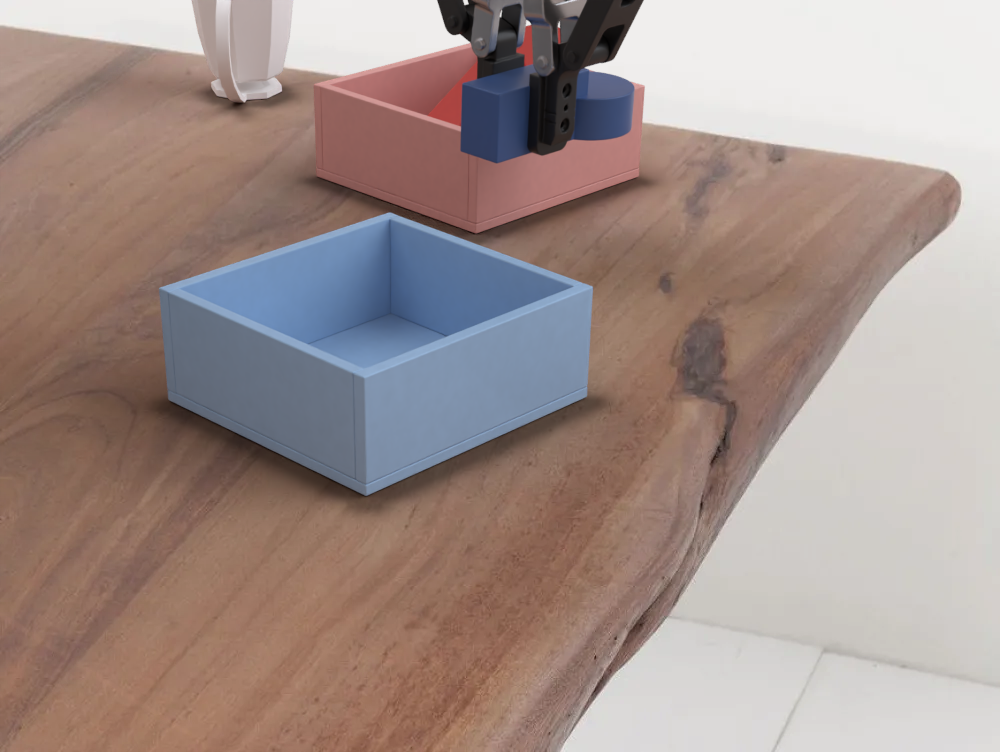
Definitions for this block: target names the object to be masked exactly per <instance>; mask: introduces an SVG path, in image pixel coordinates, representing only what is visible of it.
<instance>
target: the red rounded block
mask: <svg viewBox="0 0 1000 752" xmlns="http://www.w3.org/2000/svg"><path fill="white" fill-rule="evenodd" d="M559 43H560V26H558V44H559ZM516 52H517V53H521V54H524V55H525V60H524V66H528V65H531V64H533V52H532V27H531V24H528V25H526V28H525V35H524V42H523V44H522V46H521V47H520V48H518V49H517V50H516ZM476 79H477V62H476V63H475V64H474V65H473V66H472V67H471V68H470V69H469V70H468V71H467V73H466V74H465V75H464V76H463V77H462V78H461V79H460V80H459V81H458V82H457V84H456V85H455V86H454V87H453V88H452V89H451V90H450V91H449V92H448V93H447V94H446V96H445V97H444V98H443V99H442V100H441V101H440V102H439V103H438V104H437V105H436V107H435V108H434V109H433V110H432V111H431V112H430V113H429V114H428V115H427V116H429V117H432V118H436V119H439V120H442V121H445V122H448V123H451V124H454V125H457V126H461V105H462V83H465V82H468V81H472V80H476Z"/></svg>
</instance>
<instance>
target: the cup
mask: <svg viewBox="0 0 1000 752" xmlns="http://www.w3.org/2000/svg"><path fill="white" fill-rule="evenodd" d="M191 4H192V10H193V14H194V21H195V25H196V30H197V34H198V37H199V41H200V44H201V47H202V51H203V54H204V57H205V61H206V64H207V67H208V70H209V71H210V72H211V74H212V76H214V77H215V78H216V79H215V80H212V81H210V85H211V88H210V89H212V91H213V93H214V95H216V97H220V98H226V99H228V100H229V101H230V102H231V103H242V104H243V103H245V104H246V101H249V100H261V99H269V98H272V97H273V96H275V95H278V94H279V93H280V94H281V92H283V86H282V83H280V81H279V80H278V79H277V76H279V75H281V74H282V73H283V72H284V67H285V62H286V58H287V57H286V56H287V53H288V49H289V48H288V47H289V43H290V38H291V27H292V19H293V18H292V17H293V7H294V0H191Z"/></svg>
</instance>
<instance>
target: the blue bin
mask: <svg viewBox="0 0 1000 752" xmlns="http://www.w3.org/2000/svg"><path fill="white" fill-rule="evenodd" d="M158 294H159V306H160V318H161V331H162V342H163V353H164V354H163V355H164V365H165V377H166V389H167V399H168V401H170V402H171V403H173V404H175V405H178V406H180V407H182V408H184V409H186V410H188V411H190V412H192V413H194V414H197V415H199V416H201V417H203V418H204V419H206V420H209V421H211V422H212V423H214V424H217V425H219V426H221V427H223V428H225V429H227V430H228V431H229V430H230V431H232V432H233V433H236V434H237V435H239V436H241V437H244V438H246V439H248V440H250V441H252V442H254V443H256V444H258V445H260V446H262V447H264V448H266V449H269V450H270V451H273V452H275V453H277V454H279V455H281V456H283V457H284V458H287V459H289V460H291V461H293V462H295V463H297V464H299V465H301V466H303V467H305V468H307V469H310V470H312V471H314V472H316V473H318V474H320V475H322V476H324V477H326V478H327V479H330V480H332V481H334V482H336V483H338V484H340V485H343V486H344V487H346V488H348V489H350V490H353V491H355V492H356V493H358V494H360V495H363V496H365V497H367V496H370V495H371V494H374V493H376V492H378V491H381V490H383V489H385V488H387V487H389V486H392V485H394V484H396V483H399V482H400V481H403V480H405V479H407V478H409V477H411V476H414V475H416V474H419V473H420V472H423V471H425V470H427V469H430V468H432V467H434V466H436V465H438V464H441V463H443V462H445V461H447V460H450V459H452V458H455V457H457V456H458V455H461V454H463V453H465V452H467V451H470V450H472V449H474V448H476V447H478V446H481V445H483V444H485V443H488V442H489V441H492V440H494V439H496V438H499V437H501V436H503V435H505V434H507V433H510V432H512V431H514V430H516V429H518V428H521V427H523V426H525V425H528V424H529V423H532V422H534V421H536V420H538V419H541V418H543V417H546V416H547V415H549V414H552V413H554V412H556V411H558V410H561V409H563V408H565V407H567V406H570V405H573V403H576V402H578V401H581V400H584V399H586V398H587V397H588V384H589V383H588V382H589V367H590V348H591V330H592V316H593V315H592V311H593V298H594V297H593V296H594V295H593V294H594V287H593V285H589V284H588V283H584V282H581V281H579V280H576V279H573V278H570V277H568V276H565V275H562V274H560V273H556V272H554V271H551V270H549V269H546V268H543V267H541V266H537V265H535V264H533V263H529V262H528V261H524V260H521V259H519V258H516V257H513V256H510V255H507V254H505V253H502V252H500V251H497V250H494V249H491V248H489V247H485V246H483V245H479V244H478V243H474V242H472V241H469V240H466V239H463V238H461V237H458V236H456V235H453V234H450V233H447V232H444V231H441V230H439V229H437V228H433V227H430V226H428V225H425V224H422V223H419V222H417V221H415V220H411V219H409V218H407V217H403V216H401V215H398V214H395V213H393V212H390V211H389V212H386V213H383V214H379V215H377V216H374V217H371V218H368V219H365V220H362V221H359V222H356V223H355V222H354V223H352V224H350V225H346V226H343V227H340V228H338V229H335V230H331V231H328V232H325V233H321V234H318V235H316V236H313V237H310V238H307V239H304V240H301V241H298V242H297V241H296V242H295V243H292V244H289V245H286V246H283V247H279V248H276V249H274V250H270V251H267V252H264V253H261V254H258V255H256V256H252V257H248V258H246V259H242V260H240V261H237V262H233V263H231V264H228V265H225V266H221V267H217V268H216V269H212V270H209V271H206V272H203V273H200V274H197V275H195V276H191V277H188V278H185V279H181V280H179V281H176V282H173V283H170V284H167V285H163V286H161V287H159V288H158Z"/></svg>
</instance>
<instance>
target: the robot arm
mask: <svg viewBox="0 0 1000 752" xmlns="http://www.w3.org/2000/svg"><path fill="white" fill-rule="evenodd" d="M436 1H437V5H438V8H439V11H440V15H441V18H442V21H443V25H444V28H445V29H446V31H447V33H448V34H450V36H458V35H460V36H462V38H464V39H465V40H466V41H467V42H469V43H471V47H472V50H473V52H474V53H475V55H476V56H477V79H479V78H483V77H487V76H491V75H494V74H498V73H502V72H505V71H509V70H513V69H516V68H520V67H524V60H525V55H524V54H521V53H517V52H516V50H517V49H518V48H520V47H521V46H522V44H523V42H524V35H525V28H526V26H527V22H529V23H530V25H531V27H532V52H533V66H534V69H535V70H536V72H535V73H531V74H530V78H529V86H530V97H529V118H528V140H527V147H528V150H529V151H530V152H532V153H535V154H538V155H541V156H544V155H547V154H550V153H553V152H556V151H560V150H562V149H563V148H564V147H565V145H566V143H567V141H568V140H571V137H572V135H573V132H574V127H575V118H574V117H575V108H576V94H577V78H578V74H579V72H580V70H581V69H584V68H587V67H591V66H595V65H598V64H605V63H608V62H612V61H614V60H615V58H616V56H618V55H617V54H618V52H619V50H620V49H621V46H622V44H623V42H624V40H625V39H626V37H627V35H628V33H629V31H630V29H631V27H632V25H633V23H634V21H635V19H636V17H637V15H638V13H639V11H640V9H641V6H642V5H643V3H644V1H645V0H467V4H465V1H464V0H436ZM558 27H559V28H560V43H559V44H558Z"/></svg>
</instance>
